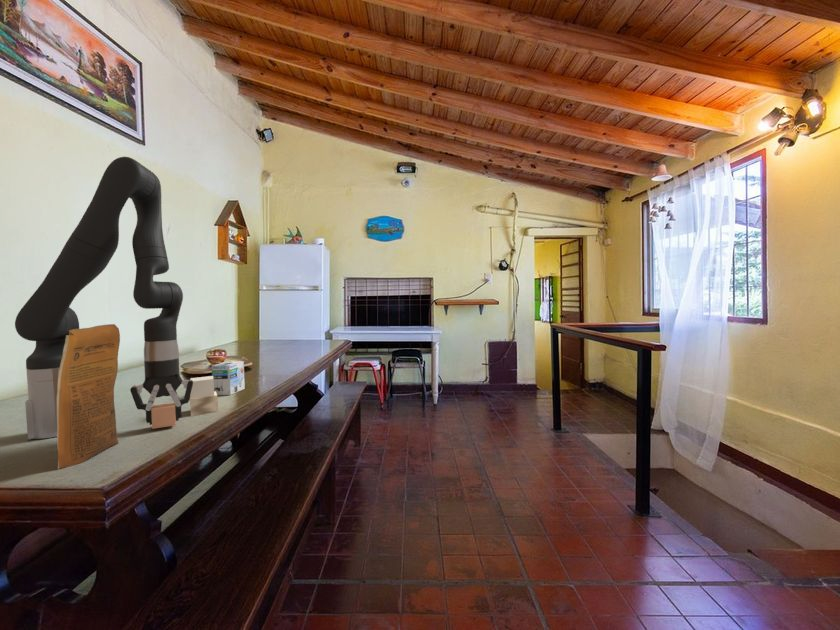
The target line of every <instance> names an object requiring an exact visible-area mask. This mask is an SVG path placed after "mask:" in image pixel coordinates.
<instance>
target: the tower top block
mask: <svg viewBox="0 0 840 630" xmlns="http://www.w3.org/2000/svg"><path fill="white" fill-rule="evenodd" d="M189 380H193V386H192V390H191V394H190V395H191V399H193V398H200V397H208V396H214V379H213V376H212V375H208V376H201V377H198V376H197V377H190V379H189Z"/></svg>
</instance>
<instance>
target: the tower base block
mask: <svg viewBox="0 0 840 630" xmlns="http://www.w3.org/2000/svg"><path fill="white" fill-rule="evenodd" d="M189 406H190V417H193V416H200V415H206V414H214V413H218V412H219V399H218V395H217V393H216V391H214V396H208V397H200V398H193V399H191V394H190V398H189Z"/></svg>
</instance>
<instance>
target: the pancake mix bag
mask: <svg viewBox="0 0 840 630" xmlns="http://www.w3.org/2000/svg"><path fill="white" fill-rule="evenodd" d="M120 333H121V332H120V330H119V327H118V326H117V325H116V324H115V323H113V324H112V323H111V324H102V325H101V324H100V325H94V326H91V327H82V328H79V329H73V330H69V335H66V339H65V345H64V349H63V356H62V360H61V364H60V370H59V376H58V385H57V436H56V439H57V440H56V441H57V443H56V446H57V448H56V449H57V453H58V454H57V470H58V469H62V468H68V467H72V466H75V465H76V466H77V465H79V464H81V463H84V461H85V462H86V460H87V461H88V460H90V459H92V458H94V457H95V456H97V455H99V454H101V453H103V452H104V451H106V450H108V449H110V448H111V446H112V447H114V446H115V445H117V444H119V439H118V431H117V418H116V409H115V386H116V380H117V376H118V366H119V363H118V362H119V360H118V359H119V357H118V356H119V348H120V344H121V343H120V341H121V335H120ZM109 447H110V448H109ZM102 451H103V452H102ZM100 452H101V453H100ZM98 453H99V454H98ZM93 456H94V457H93ZM91 457H92V458H91Z"/></svg>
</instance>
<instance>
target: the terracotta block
mask: <svg viewBox="0 0 840 630" xmlns="http://www.w3.org/2000/svg"><path fill="white" fill-rule="evenodd" d="M175 406H176V405H175V403H174V401H172V402H167V403H166V402H165V403H157V404H153V405H152V409H151V413H152V425H151V429H152V430H153V429H160V428H166V427H167V428H168V427H172V426H176V423H177V421H176V417H175Z"/></svg>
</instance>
